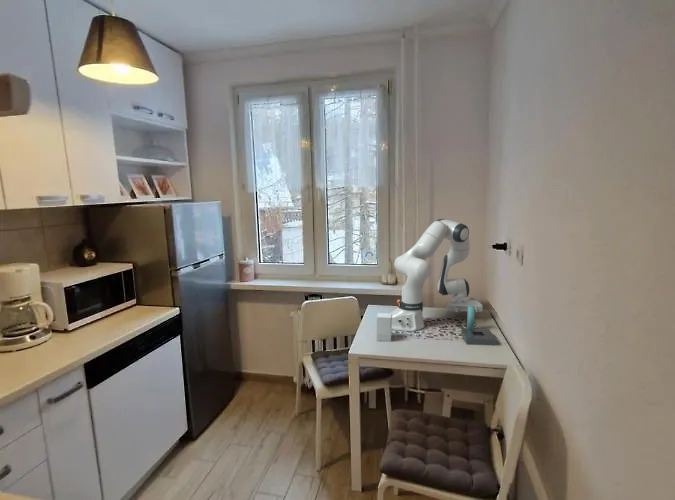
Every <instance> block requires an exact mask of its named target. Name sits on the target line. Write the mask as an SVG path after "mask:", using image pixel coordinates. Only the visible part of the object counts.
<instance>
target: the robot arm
mask: <svg viewBox="0 0 675 500" xmlns="http://www.w3.org/2000/svg"><path fill="white" fill-rule="evenodd" d="M469 235H470V230H469V227H468V226H467V225H466V224H464V223H462V222H461V223H460V222H458V221H454V220H452V219H445V218H438V219H436V220H434V221H433V222H432V223H431V224H430V225H429V226H428V227H427V228H426V229H425V230H424V232H423V233H422V235H421V236H420V238H419V239H418V240H417V241H416V242H415V244H414V245H413V246H412V247H411V248H410V249H408V251H406V252H405V253H404V254H402V255H399V256H397V257H396V259H395V260H394V263H393V265H394V269H395V270H396V271H397V272H398V273H400V274H401V275H404V276H406V277H407V278H406V282H405V284H403V285H402V287H401V299H397V300H396V303H397V307H396V308H394V309H393V310H391V311H390V312H389V313H392V331H393V330H395V331H403V332H404V331H405V332H413V333H414V332H416V331H418V330H422V329H424V328H425V326H426V325H425V323H424V322H425V321H424V317H423V310H424V303H423V288H424V284H425V282H426V280H427V279H428V278H429V277H430V276H431V275H432V271H433V269H432V266H431V264H430V262H428V261H426V259H428V258H429V259H430V258H431V257H433V255H435V253H436V251H437V250H438V249H439V247H440V246H441V244H442V243H443V241H444V239H445V240H447V241H449V243H450V244H449V251H448V253H447V254H445V255H444V257H443V259H442V265H441V267H440V268H441V269H440V274H439V278H438V281H437V284H436V285H437V286H436V287H437V292H438V293H439V294H440V295H441V296H448V295H451V296H450V297H451V301H446V303H444V306H445V308H446V311H448V312H456V313H460V312H461V313H465V312H468V306H475V314H476V313H478V312H479V313H481V312H483V310H484V306H483V304H482V303H481V302H480V301H478V299H477V298H471V297H468V296H469V295H470V285H469V282H468V280H467V279H466V278H463V277H461V278H448V277H449V276H448V275H449V274H448V273H449V271H450V268H451V267H452V266H454V265H457V264H459V263H462V262H464V261H465V260H466V259H468V257H469V255H470V236H469Z"/></svg>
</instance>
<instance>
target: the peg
mask: <svg viewBox="0 0 675 500" xmlns="http://www.w3.org/2000/svg"><path fill="white" fill-rule="evenodd" d="M475 314H476V313H475V306H468V311H467V314H466V315H467V317H466V318H467V319H466V321H467V322H466V328H470V329H475Z"/></svg>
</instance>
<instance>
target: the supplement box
mask: <svg viewBox="0 0 675 500" xmlns="http://www.w3.org/2000/svg"><path fill="white" fill-rule="evenodd" d="M392 331H393V330H392V313H390V312H388V313H387V312H377V314H376V342H377V341H378V342H387V343H388V342H389V343H390V342H392Z"/></svg>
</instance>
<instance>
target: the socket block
mask: <svg viewBox="0 0 675 500" xmlns="http://www.w3.org/2000/svg"><path fill="white" fill-rule="evenodd" d="M460 334H461V336H462V339H463V340H464V343H465V344H466V345H469V346H470V345H471V346H472V345H473V346H476V345H477V346H478V345H479V346H497V343H498V341H497V338H496V337H495V335H494V334H493V332H492V331H491V330H490V328H474V329H470V328H467V327H466V328H465V327H464V328H462V327H461V328H460Z"/></svg>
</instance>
